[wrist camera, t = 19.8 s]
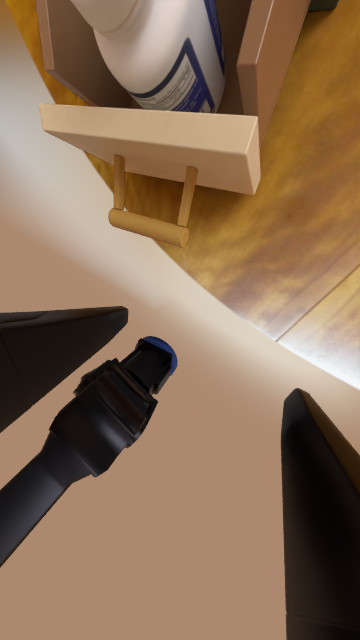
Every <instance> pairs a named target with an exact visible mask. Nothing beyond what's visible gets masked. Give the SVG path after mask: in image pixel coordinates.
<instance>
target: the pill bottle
mask: <svg viewBox="0 0 360 640" xmlns="http://www.w3.org/2000/svg"><path fill="white" fill-rule="evenodd" d="M71 2H72V3H73V4H74V5H75V7H76V8H77V9H78V11H79V12H80V13H81V15H82V16H83V18H84V19H85V20H86V21H87V23H88V24H89V25H90V26H92V27H93V30H94V34H95V38H96V41H97V44H98V47H99V50H100V52H101V55H102V57H103V59H104V61H105V63H106V65H107V67H108V68H109V70H110V71H111V73H112V74H113V76H114V77H115V78H116V80H117V81H118V82H119V83H120V84H121V85H122V86H123V88H124V89H125V90H126V91H127V92H128V93H129V94H130V95H131V96H132V97H133V98H134V99H135V100H136V101H137V103H138V104H139V105H140V106H141V107H142V108H143V109H144V110H159V111H176V112H194V113H211V114H216V113H217V111H218V108H219V106H220V103H221V100H222V97H223V93H224V88H225V83H226V69H227V68H226V55H225V48H224V43H223V38H222V33H221V29H220V24H219V19H218V14H217V9H216V5H215V0H71Z"/></svg>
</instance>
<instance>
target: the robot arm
mask: <svg viewBox="0 0 360 640" xmlns="http://www.w3.org/2000/svg"><path fill="white" fill-rule="evenodd" d="M127 322H128V309H127V308H125V307H122V306H116V307H99V308H84V309H69V310H54V311H38V312H16V313H15V312H13V313H0V433H1V432H2V431H3V430H4V429H5V428H7V427H8V426H9V425H10V424H12V423H13V422H14V421H15V420H16V419H18V418H19V417H20V416H21V415H22V414H23V413H24V412H26V411H27V410H28V409H30V408H31V407H32V405H34V404H35V403H37V402H38V401H39V400H40V399H41V398H42V397H44V396H45V395H46V394H47V393H48V392H50V391H51V390H52V389H53V388H55V387H56V386H57V385H58V384H59V383H61V382H62V381H63V380H64V379H65V378H67V377H68V376H69V375H70V374H71V373H73V372H74V371H75V370H76V369H77V368H79V367H80V366H81V365H82V364H83V363H85V362H86V361H87V360H88V359H89V358H91V357H92V356H93V355H94V354H95V353H97V352H98V351H99V350H100V349H101V348H102V347H104V346H105V345H106V344H107V343H108V342H109V341H111V339H113V338H114V336H115V335H116V334H117V333H118V332H119V331H120V330H121V329H122V328H123V327H124V326H125V325H126V324H127ZM172 358H173V355H172V354H171V353H169V352H167V351H165V350H163V349H161V348H160V347H158V346H156V345H154V344H152V343H150V342H148V341H146V340H144V339H139V340H138V348H136V349H135V350H134V351H133V352H132V353H130V354H129V355H128V356H127V357H126V358H125V359H123V360H122V361H121V362H119V361H118V359H117V358H115V359H113V360H112V361H111V360H107V361H106V362H105V363H103V364H102V365H101V366H99V367H98V368H96V369H94V370H92V371H90V372H89V373H87V374H85V375H84V376H83V377H82V378H81V381H80V384H79V385H78V387H77V389H75V391H74V392H73V394H74V395H75V396H76V397H75V398H74V399H72V400H71V401H70V402H69V403H68V404H67V405H66V406H65V407H64V408H63V409H61V410H60V411H59V413H58V415H57V416H56V417H55V419H54V421H53V422H52V424H51V426H50V428H49V431H50V433H49V435H48V437H47V439H46V441H45V444H44V446H43V448H42V450H41V452H40V453H39V454H38V455H37V456H35V458H33V459H32V460H31V461H30V462H29V463H28V464H27V465H26V466H25V467H24V468H23V469H22V470H21V471H20V472H19V473H18V474H17V475H16V476H15V477H14V478H13V479H11V480H10V481H9V482H8V483H7V484H6V485H5V486H4V487H3V488H2V489H1V490H0V567H1V566H2V565H3V563H5V561H6V560H7V559H8V558H9V557H10V556H11V554H12V553H13V552H14V551H15V550H16V548H17V547H18V546H19V545H20V544H21V543H22V542H23V540H24V539H25V538H26V537H27V536H28V534H29V533H30V532H31V531H32V530H33V529H34V527H35V526H36V525H37V524H38V523H39V522H40V520H41V519H42V518H43V517H44V516H45V515H46V513H47V512H48V511H49V510H50V509H51V507H52V506H53V505H54V504H55V503H56V502H57V500H58V499H59V498H60V497H61V496H62V495H63V493H64V492H65V491H66V490H67V488H68V487H69V486H70V485H71V484H72V483H74V482H76V481H78V480H80V479H82V478H84V477H86V476H89V475H91V474H92V475H93V476H94V477H97V476H99V475H100V474H102V473H104V472H105V471H107V470H108V469H109V467H110V466H111V464H112V463H113V462H114V460H115V459H116V458H117V456H118V455H119V454H120V453H121V451H122V450H123V449H124V448H128V447H130V446H131V445H132V444H133V443H134V442H135V441H136V440H137V439H138V438H139V436H140V435H141V434H142V432H143V431H144V429H145V428H146V426H147V424H148V422H149V420H150V418H151V416H152V414H153V412H154V410H155V407H156V405H157V403H158V401H157V400H156V399H154V398H153V397H152V395H153V393H154V394H158V392H159V391H160V390H161V388H162V386H163V385H164V384H165V382H166V381H167V379H168V378H169V376H170V372H171V369H172V366H171V362H172ZM281 463H282V496H283V529H284V530H283V531H284V564H285V598H286V612H287V614H286V637H287V638H286V639H287V640H360V455H359V454H358V453H357V451H356V450H355V449H354V448H353V447H352V445H351V444H350V443H349V442H348V440H347V439H346V438H345V437H344V436H343V435H342V433H341V432H340V431H339V430H338V428H337V427H336V426H335V425H334V423H333V422H332V421H331V420H330V419H329V417H328V416H327V415H326V414H325V413H324V411H323V410H322V409H321V408H320V406H318V404H317V403H316V402H315V400H314V399H313V398H312V397H311V396H310V394H309V393H307V392H306V391H303V390H301V389H299V388H296V389H294V390H293V391H292V392H291V393H290V395H289V396H288V397H287V398H286V399H285V401H284V408H283V418H282V429H281Z"/></svg>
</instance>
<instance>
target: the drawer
mask: <svg viewBox="0 0 360 640" xmlns="http://www.w3.org/2000/svg"><path fill="white" fill-rule="evenodd" d="M35 1H36V8H37V16H38V23H39V31H40V38H41V46H42V53H43V60H44V68H45V71H46V72H48V73H49V74H50V75H51V76H53V77H54V78H55V79H57V80H58V81H59V82H60V83H62V84H63V85H64V86H66V87H67V88H68V89H69V90H71V91H72V92H73V93H75V94H76V95H77V96H78V97H80V98H81V99H82V100H84V101H85V102H86V103H87V104H89V105H90V106H74V105H57V104H39V108H40V114H41V120H42V127H43V130H44V131H45V132H47V133H49V134H51V135H53V136H55V137H57V138H59V139H61V140H63V141H65V142H67V143H69V144H71V145H73V146H75V147H77V148H79V149H81V150H83V151H85V152H87V153H89V154H91V155H93V156H95V157H97V158H99V159H101V160H103V161H105V162H107V163H109V164H111V165H113V166H114V208H113V209H111V210H110V212H109V216H108V218H109V222H110V224H111V225H112V226H114V227H117V228H120V229H123V230H127V231H130V232H133V233H137V234H140V235H143V236H146V237H150V238H153V239H156V240H159V241H163V242H166V243H169V244H172V245H176V246H179V247H185V246H186V244H187V242H188V239H189V229H188V228H187V223H188V218H189V213H190V208H191V203H192V198H193V194H194V189H195V185H200V186H206V187H211V188H216V189H222V190H227V191H232V192H238V193H243V194H248V195H254V194H255V192H256V189H257V186H258V184H259V181H260V154H259V151H260V149H261V146H262V143H263V140H264V137H265V134H266V131H267V128H268V125H269V122H270V120H271V117H272V114H273V111H274V108H275V105H276V102H277V99H278V96H279V93H280V90H281V87H282V84H283V81H284V78H285V75H286V73H287V70H288V67H289V64H290V61H291V58H292V55H293V52H294V49H295V46H296V43H297V40H298V37H299V34H300V31H301V28H302V26H303V23H304V20H305V17H306V14H307V11H308V8H309V5H310V2H311V0H215V5H216V9H217V14H218V19H219V24H220V29H221V33H222V38H223V43H224V48H225V55H226V68H227V69H226V83H225V88H224V93H223V97H222V100H221V103H220V106H219V108H218V111H217V113H216V114H211V113H194V112H176V111H159V110H144V109H143V108H142V107H141V106H140V105H139V104H138V103H137V101H136V100H135V99H134V98H133V97H132V96H131V95H130V94H129V93H128V92H127V91H126V90H125V89H124V88H123V86H122V85H121V84H120V83H119V82H118V81H117V80H116V78H115V77H114V76H113V74H112V73H111V71H110V70H109V68H108V67H107V65H106V63H105V61H104V59H103V57H102V55H101V52H100V50H99V47H98V44H97V41H96V38H95V34H94V30H93V27H92V26H90V25H89V24H88V23H87V21H86V20H85V19H84V18H83V16H82V15H81V13H80V12H79V11H78V9H77V8H76V7H75V5H74V4H73V3H72V2H71V0H35ZM125 172H131V173H136V174H141V175H147V176H152V177H157V178H163V179H168V180H173V181H179V182H184V188H183V194H182V199H181V205H180V210H179V216H178V222H177V225H176V224H172V223H168V222H164V221H161V220H157V219H153V218H149V217H146V216H142V215H138V214H135V213H131V212H127V211H123V210H124V182H125Z"/></svg>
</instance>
